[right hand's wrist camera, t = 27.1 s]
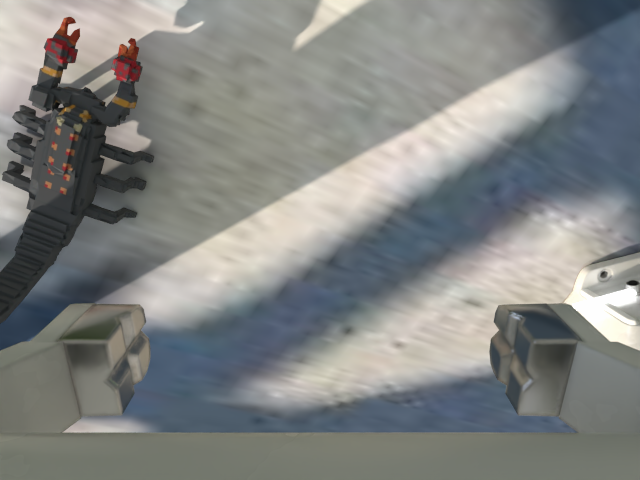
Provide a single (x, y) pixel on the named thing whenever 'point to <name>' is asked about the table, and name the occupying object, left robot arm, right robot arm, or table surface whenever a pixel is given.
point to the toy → (65, 162)
